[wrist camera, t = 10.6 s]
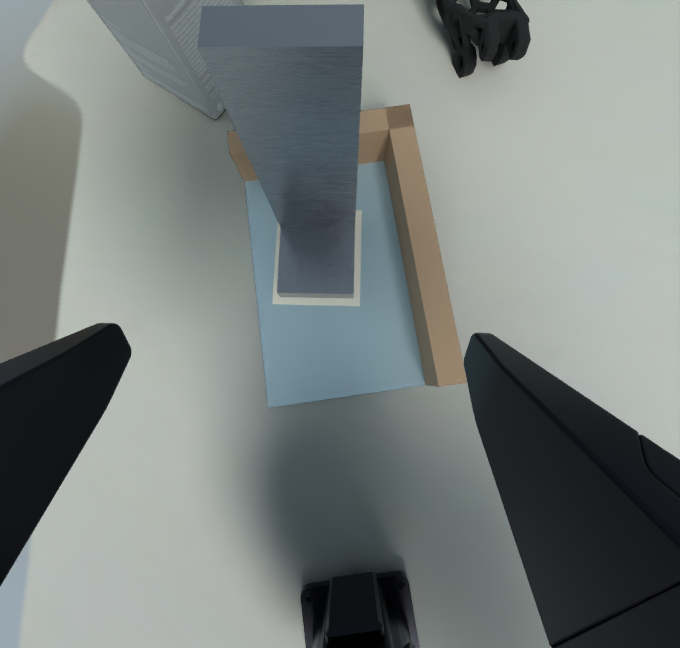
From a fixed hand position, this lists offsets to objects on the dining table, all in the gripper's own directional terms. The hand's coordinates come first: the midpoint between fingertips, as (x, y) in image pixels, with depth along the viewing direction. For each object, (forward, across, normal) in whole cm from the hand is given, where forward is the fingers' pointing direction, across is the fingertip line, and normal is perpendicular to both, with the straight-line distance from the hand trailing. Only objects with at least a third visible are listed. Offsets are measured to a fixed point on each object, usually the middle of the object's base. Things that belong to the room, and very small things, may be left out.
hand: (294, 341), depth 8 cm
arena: (+14, -1, +5) cm, 15 cm away
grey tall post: (+14, +1, +4) cm, 15 cm away
